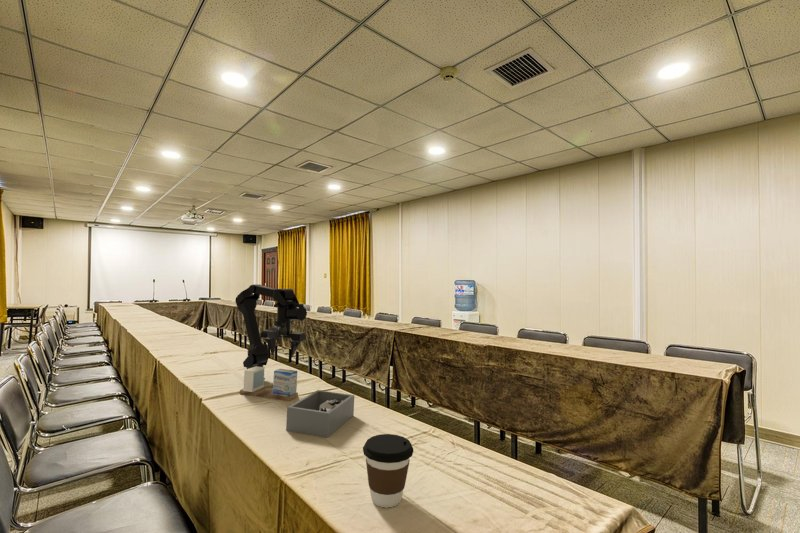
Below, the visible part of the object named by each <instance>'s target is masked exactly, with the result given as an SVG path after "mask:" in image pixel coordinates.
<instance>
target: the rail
mask: <svg viewBox="0 0 800 533" xmlns="http://www.w3.org/2000/svg"><path fill="white" fill-rule="evenodd" d="M243 390H244V387H243V388H242V389H239V394H240V395H247V396H252V397H260V398H266V399H272V400H281V401H285V402H286V401H287V402H290V401H292V400H294V399H296V398H297V397H299V393H298V392H297V391H296V393H295V394H293V395H291V396H289V395H282V394H274V393H273V388H269V387H263V388H261V389H258V390H256V391H254V392H248V391H243Z"/></svg>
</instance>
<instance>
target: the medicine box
mask: <svg viewBox="0 0 800 533" xmlns="http://www.w3.org/2000/svg"><path fill="white" fill-rule="evenodd" d="M272 383H273V384H272V389H273V393H274V394H282V395H289V396H291V395H293V394H295V393H296V392H297V387H298V370H293V369H284V368H279V369H278V368H277V369H275V370H273V382H272Z"/></svg>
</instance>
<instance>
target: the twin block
mask: <svg viewBox="0 0 800 533" xmlns="http://www.w3.org/2000/svg"><path fill="white" fill-rule="evenodd" d="M265 368H266V367H265V366H263V367H258V366H255V367H252V368H249V369H247V368H246V369H244V372H243V373H244V375H243V388H244V390H243V391H248V392H254V391H256V390H258V389H261V388H265V386H264V384H265V379H264V378H265Z"/></svg>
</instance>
